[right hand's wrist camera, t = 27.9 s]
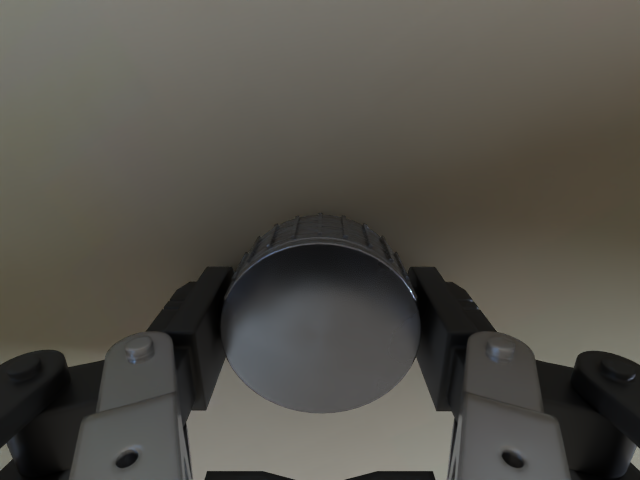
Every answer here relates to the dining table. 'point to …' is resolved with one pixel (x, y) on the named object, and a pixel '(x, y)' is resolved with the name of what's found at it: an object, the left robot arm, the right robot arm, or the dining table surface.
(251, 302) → the lid
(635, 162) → the dining table surface
